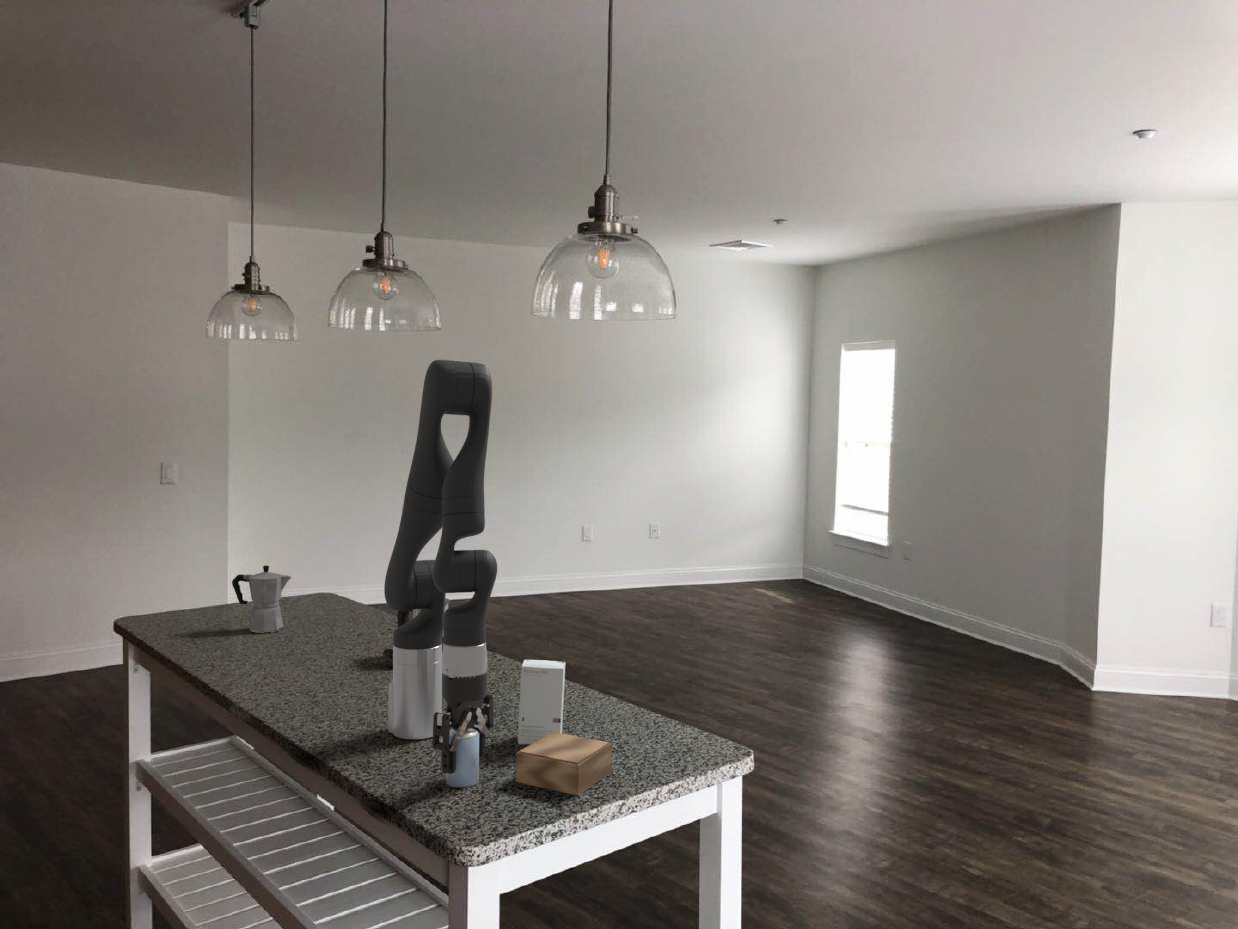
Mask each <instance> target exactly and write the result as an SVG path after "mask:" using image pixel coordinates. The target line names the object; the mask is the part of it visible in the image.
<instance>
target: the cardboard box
mask: <svg viewBox="0 0 1238 929" xmlns="http://www.w3.org/2000/svg"><path fill="white" fill-rule="evenodd" d="M612 767H613V743H612V742H611V743H610V742H609V741H604V740H598V739H592V738H587V737H583V736H576V735H571V734H566V733H562V734H561V733H556V732H552V733H550V734H548V735H547V736H545V737H543V738H541V739H540V740H538V741H536V742H534V743H533V744H528V745H527V746H526V747H523V748H522V749H520V750H518V751H517V752H516V753H515V783H519V784H522V785H527V786H528V785H529V786H531V787H532V786H533V787H537V788H542V789H546V790H550V791H554V792H555V791H556V792H559V793H564V794H569V795H574V796H580V795H581V794H582V793H584V792H585V791H587V790H588V789H590V788H591V787H592V786H594V785H596V784H597V783H598V782H599V781H602V779H604V778H605V777H607V776H608V775H610V774H611V773H612V772H613V768H612Z"/></svg>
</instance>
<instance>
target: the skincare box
mask: <svg viewBox="0 0 1238 929" xmlns="http://www.w3.org/2000/svg"><path fill="white" fill-rule="evenodd" d="M520 670H521V671H520V685H519V686H520V688H519V689H520V690H519V708H518V710H519V711H518V726H517V743H518V745H531V744H533V743H534V742H536V741H538V740H540V739H541V738H543V737H545V736H547V735H548V734H550V733H552V732H556V733H561V734H563V717H564V696H565V695H564V694H565V682H566V681H565V678H566V661H558V660H547V659H546V660H543V659H523V662H522V664H521V669H520Z"/></svg>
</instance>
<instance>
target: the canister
mask: <svg viewBox="0 0 1238 929" xmlns="http://www.w3.org/2000/svg"><path fill="white" fill-rule="evenodd" d="M450 731H455V730H453V729H452V728H451V729H450ZM451 741H452V737H450V738H449V744H450V743H451ZM455 751H456V771H455V772H454V773H453V774H449V773H445V774H446V776H445V778H446V779H445V782H446V785H447V786H449V787H453V788H469V787H473V786H475V785H477V784H478V783H479V782H480V778H479V776H480V774H479V773H480V758H479V733H478V732H477V730H475V729H473V728H469V729H468V730H467V731H465V732H464V734H463V737H462V738H461V739H459V740H458V743H457V746H456V748H455Z"/></svg>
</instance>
